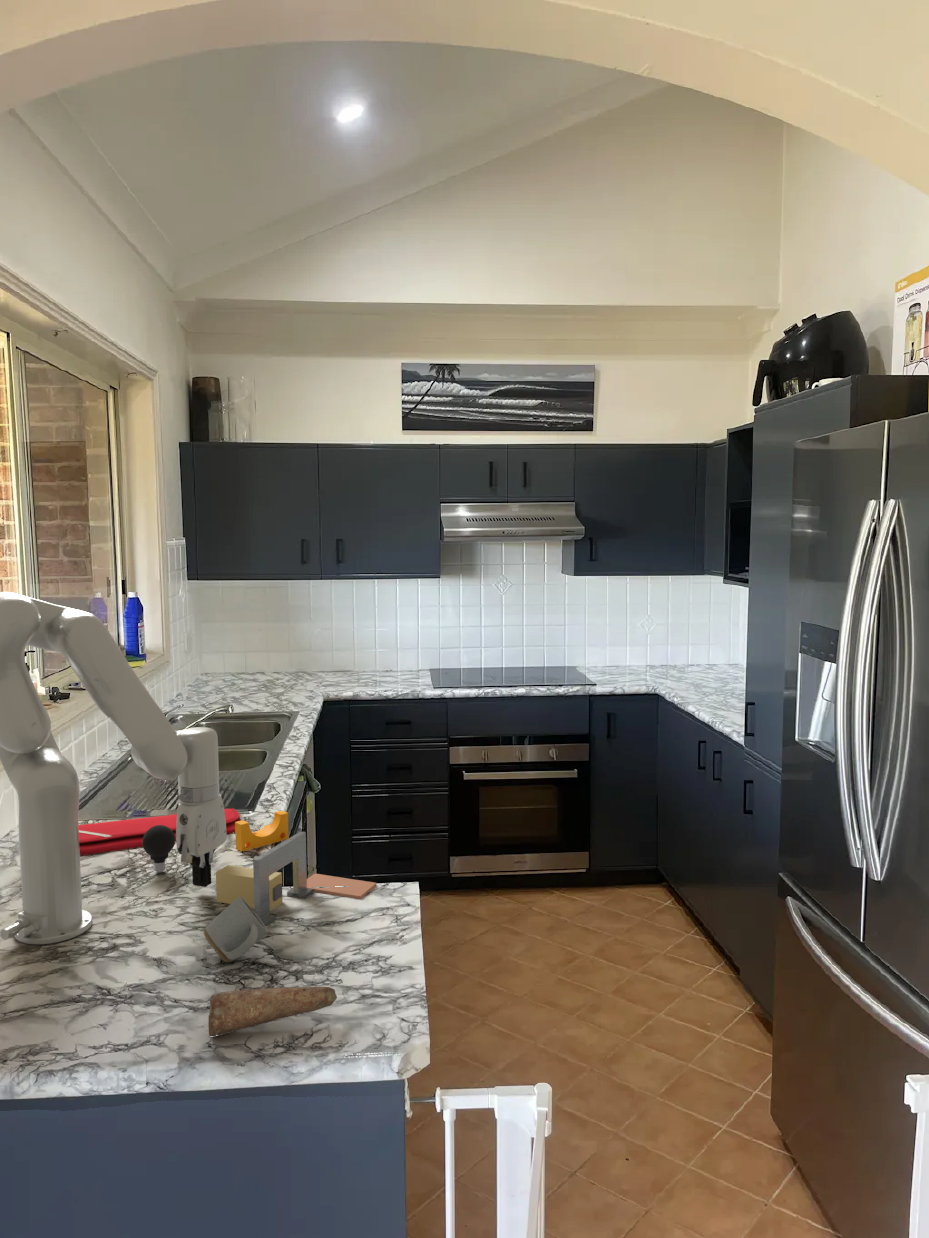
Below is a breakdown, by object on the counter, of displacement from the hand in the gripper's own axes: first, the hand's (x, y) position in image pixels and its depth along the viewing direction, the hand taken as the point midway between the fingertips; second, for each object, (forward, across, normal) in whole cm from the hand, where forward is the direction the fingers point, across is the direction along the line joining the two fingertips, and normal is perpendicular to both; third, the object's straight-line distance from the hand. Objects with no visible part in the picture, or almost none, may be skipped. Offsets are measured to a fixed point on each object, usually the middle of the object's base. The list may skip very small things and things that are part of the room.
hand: (202, 884), depth 173 cm
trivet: (+2, +12, -23) cm, 26 cm away
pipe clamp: (+2, +28, +6) cm, 29 cm away
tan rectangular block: (+2, 0, -11) cm, 11 cm away
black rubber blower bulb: (+2, +6, +15) cm, 16 cm away
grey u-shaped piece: (+2, 0, -18) cm, 18 cm away
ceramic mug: (+2, -21, -23) cm, 31 cm away
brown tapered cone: (+2, -35, -38) cm, 52 cm away
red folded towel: (+3, +24, +33) cm, 41 cm away
